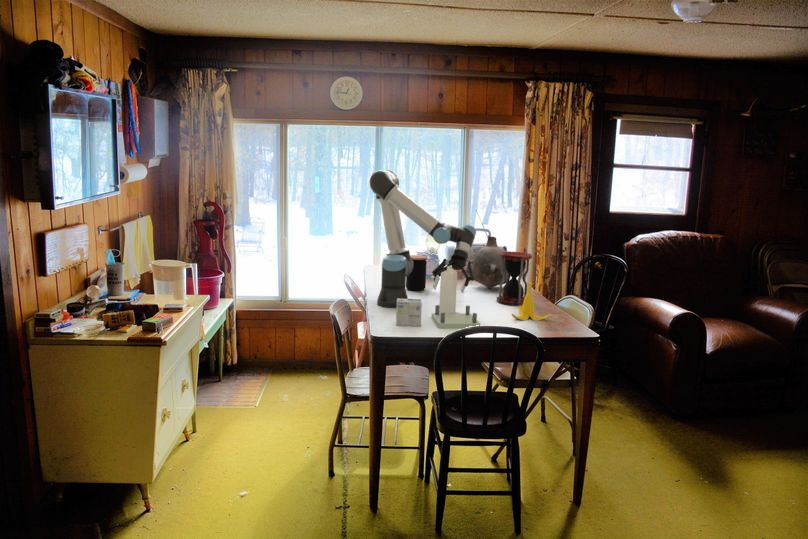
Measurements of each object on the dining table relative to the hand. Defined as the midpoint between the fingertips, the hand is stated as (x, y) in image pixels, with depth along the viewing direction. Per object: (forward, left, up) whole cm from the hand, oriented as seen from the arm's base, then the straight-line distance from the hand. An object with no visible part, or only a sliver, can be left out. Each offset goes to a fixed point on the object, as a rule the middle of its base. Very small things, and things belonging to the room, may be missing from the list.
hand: (447, 289), depth 294 cm
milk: (+1, +1, -11) cm, 11 cm away
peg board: (+1, -18, -11) cm, 21 cm away
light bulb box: (-20, -21, -11) cm, 31 cm away
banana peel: (+38, -9, -12) cm, 41 cm away
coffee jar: (-7, +52, -11) cm, 54 cm away
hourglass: (+39, +24, -11) cm, 47 cm away
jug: (+36, +58, -11) cm, 69 cm away
